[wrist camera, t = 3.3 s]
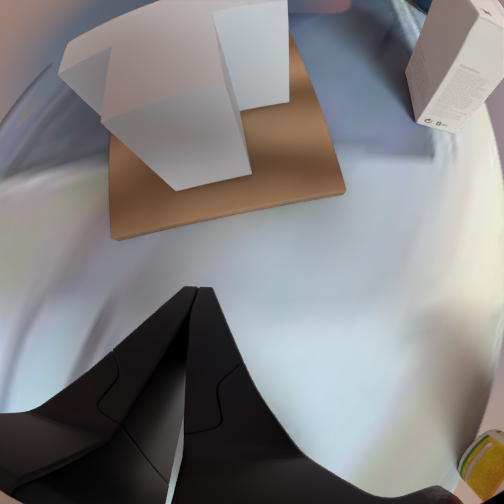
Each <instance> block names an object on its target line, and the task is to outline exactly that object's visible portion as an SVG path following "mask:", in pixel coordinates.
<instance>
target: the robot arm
mask: <svg viewBox="0 0 504 504" xmlns="http://www.w3.org/2000/svg"><path fill="white" fill-rule="evenodd" d="M183 414H184V446H183V457H182V462H181V466H180V470H179V474H178V478H177V482H176V486H175V490H174V494H173V498H172V502H171V504H463V503H462V501H461V500H460V499H459V498H458V497H457V496H455V495H454V494H452V493H451V492H449V491H447V490H446V489H444V488H443V487H441V486H438V485H436V486H431V487H428V488H425V489H422V490H419V491H416V492H413V493H410V494H407V495H404V496H400V497H394V498H388V497H380V496H375V495H372V494H370V493H367V492H365V491H363V490H361V489H359V488H358V487H356V486H354V485H352V484H351V483H349V482H347V481H345V480H344V479H342V478H340V477H339V476H337V475H335V474H334V473H332V472H330V471H329V470H327V469H326V468H324V467H322V466H321V465H319V464H318V463H316V462H315V461H313V460H312V459H310V458H309V457H308V456H306V455H305V454H304V453H303V452H302V451H301V450H300V449H299V447H298V446H297V445H296V444H295V443H294V441H293V440H292V439H291V438H290V436H289V435H288V433H287V432H286V431H285V429H284V428H283V427H282V425H281V424H280V422H279V421H278V420H277V418H276V417H275V415H274V414H273V412H272V411H271V410H270V408H269V407H268V405H267V404H266V402H265V401H264V399H263V397H262V396H261V394H260V393H259V391H258V389H257V388H256V386H255V384H254V382H253V380H252V378H251V376H250V374H249V372H248V370H247V367H246V365H245V363H244V361H243V359H242V356H241V354H240V352H239V349H238V347H237V345H236V343H235V340H234V338H233V335H232V333H231V331H230V328H229V326H228V324H227V321H226V319H225V316H224V314H223V312H222V309H221V307H220V304H219V302H218V299H217V297H216V294H215V292H214V289H213V288H212V287H199V289H198V287H192V286H185V287H183V288H182V289H181V290H180V291H179V292H177V293H176V294H175V295H174V296H173V297H172V298H171V299H169V300H168V301H167V302H166V303H165V304H164V305H163V306H161V307H160V308H159V309H158V310H157V311H156V312H155V313H153V314H152V315H151V316H150V317H149V318H148V319H147V320H145V321H144V322H143V323H142V324H141V325H140V326H139V327H138V328H136V329H135V330H134V331H133V332H132V333H131V334H130V335H129V336H127V337H126V338H125V339H124V340H123V341H122V342H121V343H120V344H119V345H117V346H116V347H115V348H114V349H113V351H111V352H109V353H108V354H107V355H106V356H105V357H104V358H103V359H102V360H100V361H99V362H98V363H97V364H96V365H95V366H93V367H92V368H91V369H90V370H89V371H87V372H86V373H85V374H83V375H82V376H81V377H79V378H78V379H77V380H76V381H74V382H73V383H71V384H70V385H69V386H67V387H66V388H65V389H63V390H62V391H60V392H59V393H58V394H56V395H55V396H54V397H52V398H51V399H49V400H48V401H47V402H45V403H44V404H42V405H41V406H39V407H37V408H35V409H33V410H30V411H26V412H19V413H0V504H165V503H166V498H167V493H168V487H169V485H168V484H169V482H170V477H171V472H172V467H173V462H174V457H175V452H176V447H177V442H178V438H179V433H180V428H181V423H182V419H183ZM481 504H504V490H503V491H501V492H499V493H498V494H496V495H494V496H493V497H491V498H489V499H488V500H486V501H484V502H483V503H481Z"/></svg>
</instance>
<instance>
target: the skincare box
mask: <svg viewBox="0 0 504 504" xmlns="http://www.w3.org/2000/svg"><path fill="white" fill-rule="evenodd" d="M405 74H406V78H407V82H408V86H409V91H410V95H411V100H412V105H413V110H414V116H415V121H416V123H418V124H421V125H424V126H428V127H431V128H435V129H438V130H442V131H446V132H449V133H453V134H454V133H457V132H458V131H459V130H460V128H461V127H462V126H463V125H464V124H465V123H466V122H467V121H468V119H469V118H470V117H471V116H472V115H473V114H474V113H475V111H476V110H477V109H478V108H479V107H480V105H481V104H482V103H483V102H484V101H485V100H486V98H487V97H488V96H489V95H490V94H491V92H492V91H493V90H494V88H495V87H496V86H497V85H498V84H499V83H500V81H501V80H502V79H503V78H504V8H503V7H502V6H501V4H500V3H499V2H498V1H497V0H433V1H432V3H431V6H430V9H429V12H428V15H427V17H426V20H425V23H424V25H423V28H422V31H421V33H420V36H419V38H418V41H417V44H416V46H415V49H414V51H413V53H412V56H411V58H410V61H409V63H408V66H407V68H406V70H405Z"/></svg>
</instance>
